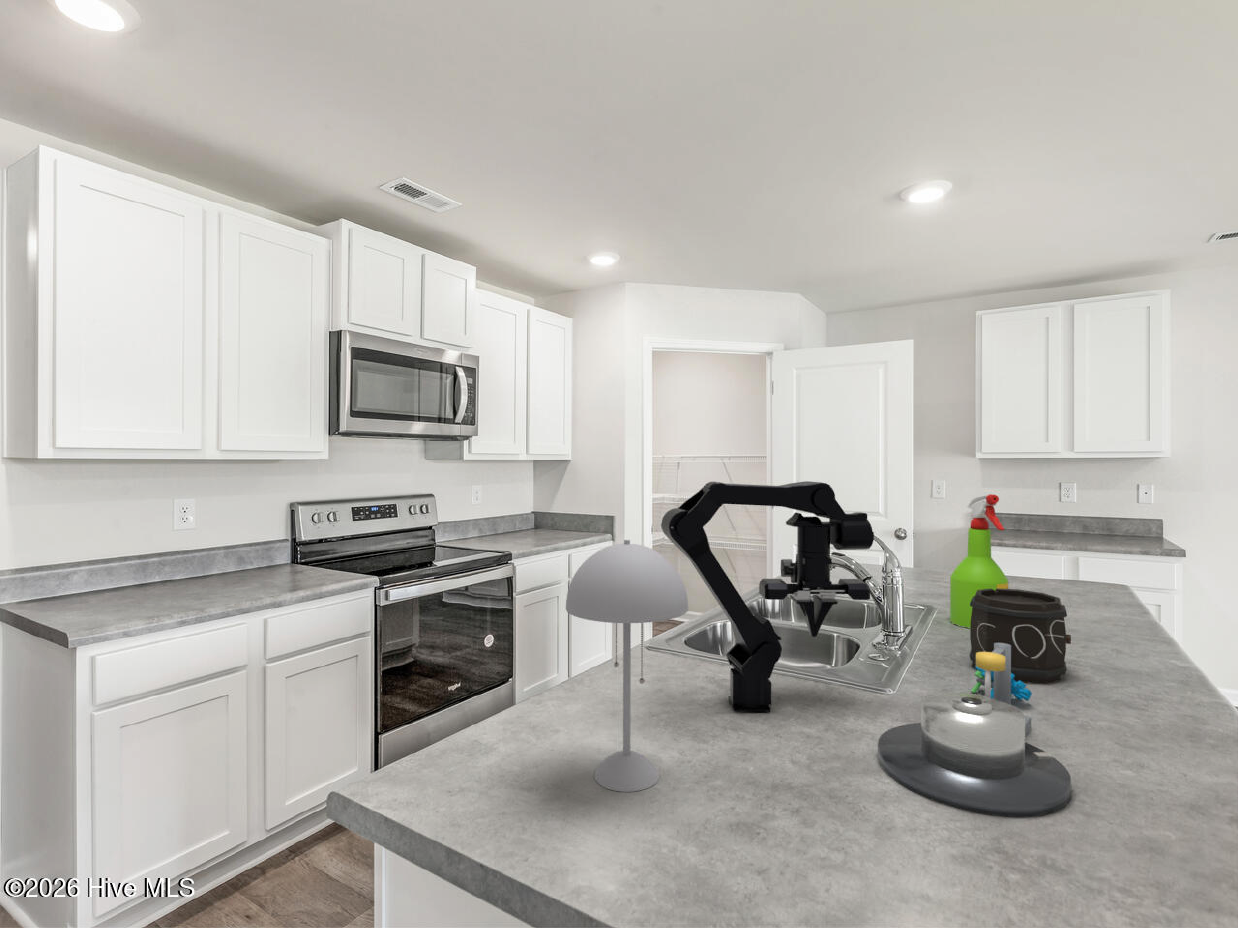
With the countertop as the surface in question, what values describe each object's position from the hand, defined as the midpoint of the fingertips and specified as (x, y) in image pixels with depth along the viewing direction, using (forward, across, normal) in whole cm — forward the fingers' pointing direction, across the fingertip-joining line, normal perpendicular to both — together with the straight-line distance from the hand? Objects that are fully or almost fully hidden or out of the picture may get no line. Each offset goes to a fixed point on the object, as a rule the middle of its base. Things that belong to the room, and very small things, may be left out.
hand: (813, 636), depth 120 cm
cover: (+10, -15, +26) cm, 32 cm away
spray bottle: (+12, -60, -54) cm, 82 cm away
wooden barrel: (+12, -48, -18) cm, 53 cm away
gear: (+12, -35, -2) cm, 37 cm away
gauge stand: (+12, -25, +14) cm, 31 cm away
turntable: (+12, -15, +26) cm, 32 cm away
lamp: (+12, +34, +28) cm, 46 cm away
